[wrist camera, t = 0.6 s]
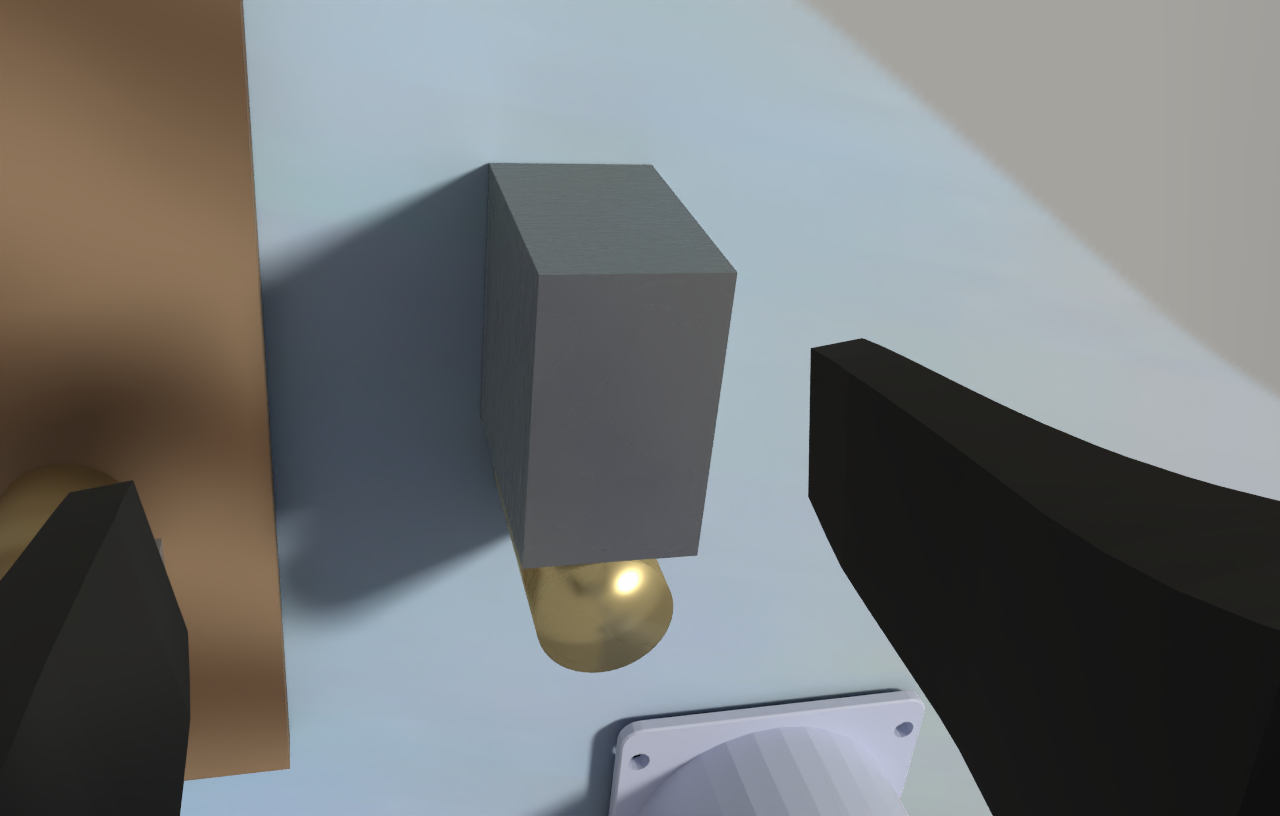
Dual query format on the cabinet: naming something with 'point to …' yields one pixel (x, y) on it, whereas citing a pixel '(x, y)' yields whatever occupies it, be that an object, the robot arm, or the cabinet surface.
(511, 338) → the grey post
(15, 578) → the robot arm
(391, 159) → the cabinet surface
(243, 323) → the hinge jig
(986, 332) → the cabinet surface
